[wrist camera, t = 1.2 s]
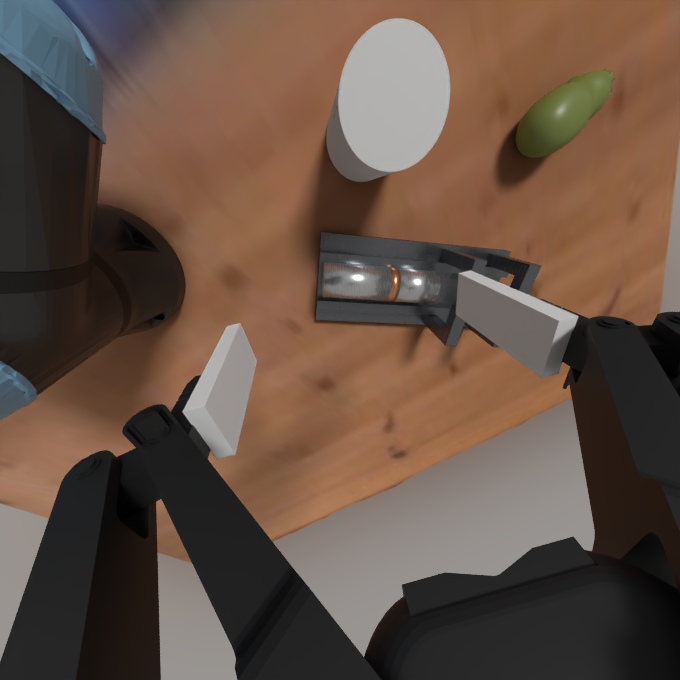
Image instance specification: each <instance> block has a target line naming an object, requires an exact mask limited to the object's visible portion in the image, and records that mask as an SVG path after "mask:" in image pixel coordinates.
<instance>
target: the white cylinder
mask: <svg viewBox="0 0 680 680" xmlns="http://www.w3.org/2000/svg"><path fill="white" fill-rule="evenodd" d="M449 100H450V78H449V71H448V66H447V62H446V59H445V56H444V54H443V51H442V49H441V47H440V45H439V44H438V42H437V41H436V39H435V38H434V37H433V35H432V34H431V33H430V32H429V31H428V30H427V29H426V28H424V27H423V26H422V25H420V24H418V23H416V22H414V21H411V20H408V19H402V18H395V19H389V20H385V21H383V22H380V23H378V24H376V25H375V26H373V27H372V28H370V29H369V30H368V31H367V32H366V33H364V34H363V35H362V37H361V38H360V39H359V40H358V41H357V43H356V44H355V45H354V47H353V49H352V50H351V52H350V54H349V56H348V58H347V60H346V63H345V65H344V68H343V72H342V75H341V79H340V82H339V86H338V89H337V93H336V96H335V100H334V104H333V107H332V111H331V114H330V118H329V121H328V125H327V132H326V143H327V149H328V153H329V156H330V159H331V161H332V163H333V165H334V166H335V168H336V169H337V170H338V172H339V173H340V174H342V175H343V176H344V177H346V178H347V179H349V180H352V181H355V182H367V181H370V180H373V179H376V178H379V177H382V176H386V175H389V174H392V173H395V172H398V171H401V170H404V169H406V168H409V167H411V166H412V165H414V164H416V163H417V162H418V161H420V160H421V159H422V158H423V157H424V156H425V155H426V154H427V153H428V152H429V151H430V149H431V148H432V147H433V145H434V144H435V142H436V141H437V139H438V137H439V135H440V133H441V131H442V129H443V126H444V123H445V120H446V117H447V113H448V108H449Z"/></svg>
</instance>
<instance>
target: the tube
mask: <svg viewBox="0 0 680 680" xmlns="http://www.w3.org/2000/svg"><path fill="white" fill-rule="evenodd" d="M440 286H441V280H440V275H439V274H438V272H436V271H429V270H416V269H404V268H392V267H380V266H368V265H356V264H344V263H331V262H324V264H323V272H322V297H329V298H346V299H362V300H379V301H395V302H412V303H428V304H431V303H433V302H434V301H435V300H436V299H437V297H438V295H439V292H440Z"/></svg>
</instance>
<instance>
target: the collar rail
mask: <svg viewBox="0 0 680 680" xmlns="http://www.w3.org/2000/svg"><path fill="white" fill-rule="evenodd" d="M510 252H511V251H507V250H498V249H488V248H478V247H468V246H459V245H449V244H439V243H429V242H419V241H409V240H399V239H389V238H379V237H369V236H359V235H349V234H339V233H329V232H321V237H320V253H319V269H318V285H317V301H316V320H333V321H354V322H375V323H397V324H418V325H426V326H427V327H428V328H429V329H430V330H431V331H432V332H433V333H434V334H435V335H436V336H437V337H438V338H439V339H440V340H441V341H442V342H443V343H444V345H445V346H456V344H457V342H458V339H459V336H460V334H461V331H462V328H463V327H468V328H469V329H470V330H472V331H473V332H474V333H476V334H477V335H478V336H479V337H481V338H482V339H483V340H485V341H486V342H487V343H488V344H490V345H491V346H492V347H499V346H498V345H496V344H495V343H494V342H492V341H491V340H489V339H488V338H487V337H485V336H484V335H483V334H481V333H480V332H479V331H477V330H476V329H475V328H473V327H472V326H471V325H469V324H468V323H467V322H465V321H464V320H462V319H461V318H460V317H458V316H457V315H456V303H457V288H458V274H459V273H461V272H466V271H470V270H471V271H473V272H476V273H478V274H481V275H483V276H485V277H488V278H490V279H492V280H495V281H497V282H499V279H500V277H507V276H508V273H510V274H513V275H515V276H514V279H513V281H512V283H511V286H510V287H511V288H513V289H516V290H518V291H520V292H523V293H525V294H528V293H529V291H530V289H531V287H532V285H533V283H534V281H535V279H536V277H537V274H538V272H539V270H540V268H541V265H537V264H533V263H530V262H526V261H522V260H519V259H515V258H511V257H509V255H510ZM324 262H331V263H344V264H356V265H368V266H380V267H392V268H404V269H416V270H429V271H436V272H438V274H439V275H440V280H441V286H440V292H439V295H438V297H437V299H436V300H435V301H434V302H433V303H431V304H428V303H412V302H395V301H379V300H362V299H346V298H329V297H322V272H323V264H324Z"/></svg>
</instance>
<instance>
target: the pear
mask: <svg viewBox="0 0 680 680" xmlns="http://www.w3.org/2000/svg"><path fill="white" fill-rule="evenodd" d="M614 79H615V78H613V74H612V71H609V70H606V69H605V70H601V71H594V72H589V73H586V74H583V75H581V76H576V77H573V78H572V79H570V80H569V81H568V82H567V83H566V84H564V85H561V86H559V87H557V88H556V89H554V90H552V91H551V92H549V93H548V94H547V95H545V96H544V97H543V98H541V99H540V100H539V101H538V102H537V103H535V104H534V105H533V106H532V107H531V108H530V109H529V110H528V111H527V113H526V114H525V115H524V116H523V118H522V119H521V121H520V123H519V125H518V128H517V131H516V145H517V148H518V150H519V151H520V153H521V154H523V155H524V156H526V157H529V158H538V157H543V156H546V155H548V154H551V153H553V152H555V151H557V150H558V149H560V148H562V147H563V146H565V145H566V144H568V143H569V142H570V141H571V140H573V139H574V138H575V137H576V136H577V135H578V134H579V133H580V131H581V130H582V129H583V127H584V126H585V124H586V123H587V121H588V120H589V119H590V118H591V117H593V116H594V115H595V114H596V113H597V112H598V111H599V110H600V108H601V107H602V106H603V105H604V103H605V102H606V100H607V99H608V97H609V95H610V93H611V91H612V82H613V80H614Z"/></svg>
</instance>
